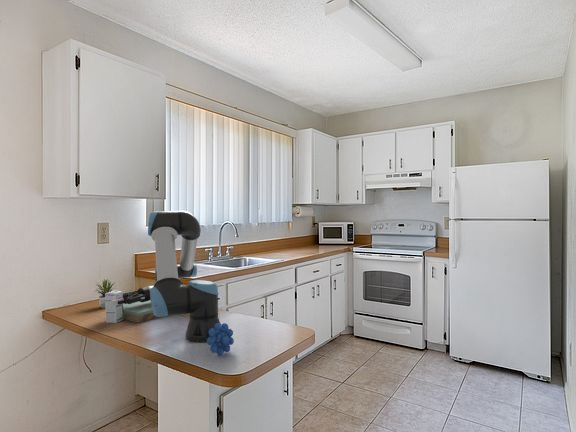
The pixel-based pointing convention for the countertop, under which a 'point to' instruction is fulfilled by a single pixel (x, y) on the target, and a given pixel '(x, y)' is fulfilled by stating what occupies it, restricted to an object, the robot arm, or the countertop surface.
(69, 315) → the countertop surface
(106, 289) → the house plant
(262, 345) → the countertop surface
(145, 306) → the lid
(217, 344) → the grapes
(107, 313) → the syrup box
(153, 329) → the countertop surface
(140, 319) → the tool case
